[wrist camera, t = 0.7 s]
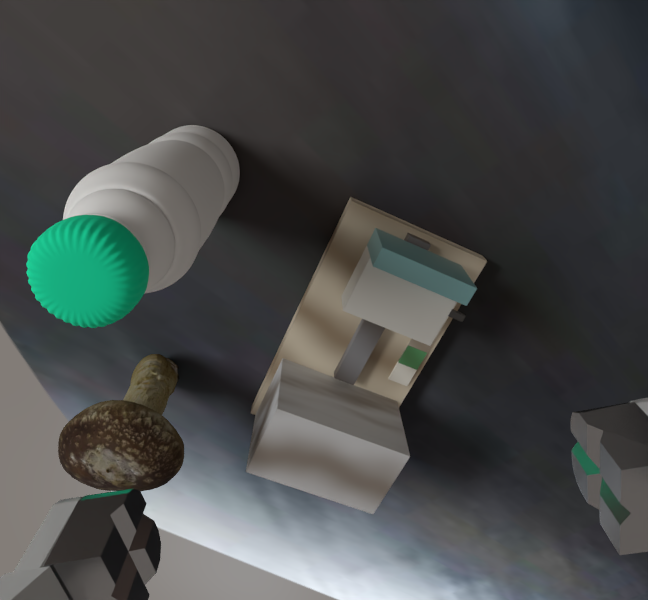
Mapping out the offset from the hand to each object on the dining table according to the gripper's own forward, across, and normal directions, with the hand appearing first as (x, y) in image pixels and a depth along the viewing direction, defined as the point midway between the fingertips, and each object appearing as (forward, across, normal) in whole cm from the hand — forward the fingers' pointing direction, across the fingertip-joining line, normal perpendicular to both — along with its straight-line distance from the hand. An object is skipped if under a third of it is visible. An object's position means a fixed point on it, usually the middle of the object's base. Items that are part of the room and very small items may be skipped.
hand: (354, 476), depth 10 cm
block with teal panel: (+35, -5, +12) cm, 37 cm away
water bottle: (+38, +10, -1) cm, 39 cm away
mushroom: (+38, +19, +16) cm, 46 cm away
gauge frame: (+38, 0, +17) cm, 41 cm away
